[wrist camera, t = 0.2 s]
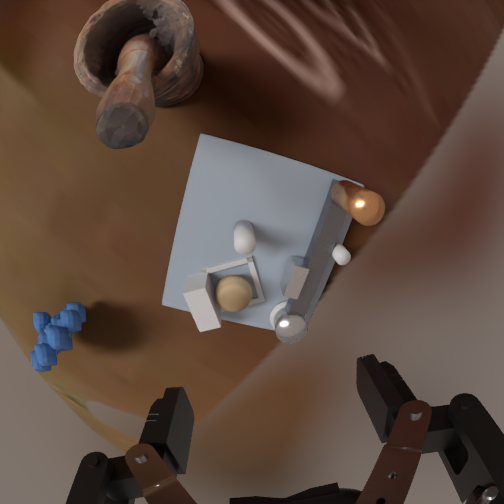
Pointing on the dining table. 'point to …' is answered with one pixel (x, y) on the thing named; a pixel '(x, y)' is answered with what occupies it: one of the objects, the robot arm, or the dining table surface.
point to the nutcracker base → (256, 201)
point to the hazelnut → (233, 293)
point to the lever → (321, 253)
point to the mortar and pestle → (137, 64)
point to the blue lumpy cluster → (55, 334)
